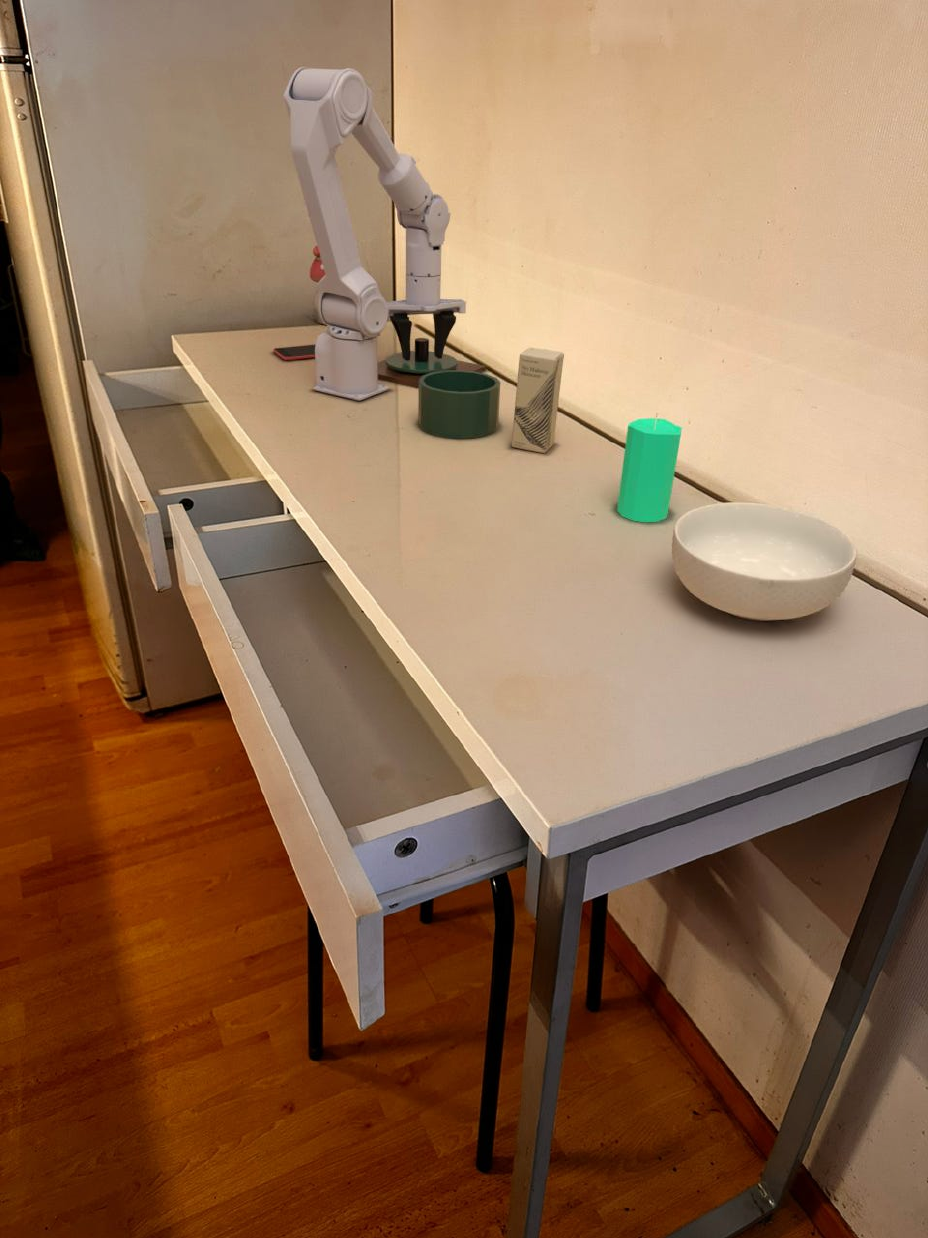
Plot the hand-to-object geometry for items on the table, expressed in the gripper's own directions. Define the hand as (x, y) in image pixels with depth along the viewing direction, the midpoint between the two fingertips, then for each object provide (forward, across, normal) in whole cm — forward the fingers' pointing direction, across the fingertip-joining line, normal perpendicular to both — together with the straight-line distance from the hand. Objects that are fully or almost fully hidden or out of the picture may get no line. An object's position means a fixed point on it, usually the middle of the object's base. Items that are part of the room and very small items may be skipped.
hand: (422, 358), depth 153 cm
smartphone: (+2, -15, +16) cm, 22 cm away
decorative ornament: (+3, -6, +39) cm, 40 cm away
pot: (+2, -4, -28) cm, 28 cm away
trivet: (+2, 0, 0) cm, 2 cm away
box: (+3, +3, -39) cm, 39 cm away
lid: (+1, 0, 0) cm, 1 cm away
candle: (+3, +6, -63) cm, 63 cm away
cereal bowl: (+3, +5, -85) cm, 85 cm away
